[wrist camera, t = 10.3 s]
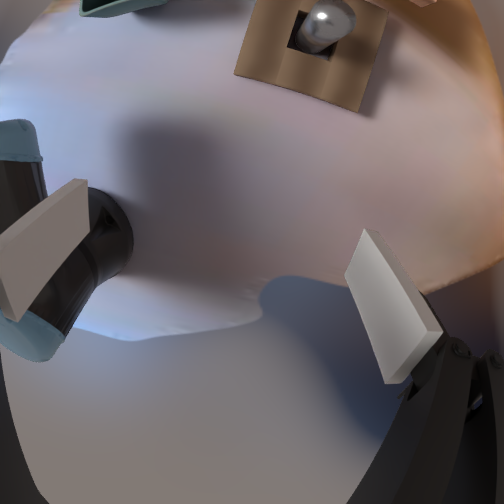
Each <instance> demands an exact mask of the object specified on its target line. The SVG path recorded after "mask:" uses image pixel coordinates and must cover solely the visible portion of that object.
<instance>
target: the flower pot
mask: <svg viewBox="0 0 504 504" xmlns="http://www.w3.org/2000/svg"><path fill="white" fill-rule="evenodd" d="M167 2H168V0H80V8H79V14H80V16H81V17H99V18H108V17H114V16H119V15H122V14H126V13H129V12H132V11H136V10H140V9H144V8H148V7H153V6H157V5H163V4H166V3H167Z"/></svg>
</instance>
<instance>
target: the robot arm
mask: <svg viewBox="0 0 504 504" xmlns="http://www.w3.org/2000/svg"><path fill="white" fill-rule="evenodd" d="M41 161H43V157H42V156H41V155H40V151H39V146H38V140H37V134H36V130H35V127H34V125H33V124H32V123H31V122H30V121H28V120H26V119H14V120H7V121H1V122H0V343H1V344H2V345H3V346H5V347H6V348H7V349H9V350H10V351H12V352H13V353H15V354H17V355H18V356H20V357H22V358H25V359H27V360H30V361H33V362H45V361H48V360H50V359H51V358H52V357H53V355H54V354H55V352H56V350H57V349H58V348H59V346H60V344H62V343H63V342H64V341H65V338H66V336H67V335H68V333H69V331H70V329H71V328H72V326H73V324H74V322H75V321H76V319H77V317H78V316H79V314H80V312H81V311H82V309H83V307H84V306H85V304H86V302H87V301H88V299H89V298H90V296H91V294H92V293H93V291H94V290H95V288H96V287H97V286H99V285H100V284H102V283H103V282H105V281H106V280H108V279H110V278H112V277H114V276H115V275H117V274H118V273H119V272H120V271H121V270H122V269H123V267H124V266H125V265H126V263H127V262H128V260H129V258H130V256H131V253H132V249H133V234H132V230H131V226H130V224H129V221H128V219H127V217H126V215H125V214H124V212H123V211H122V209H121V208H120V207H119V205H118V204H117V203H116V202H115V201H114V200H113V199H111V198H110V197H109V196H108V195H106V194H104V193H103V192H101V191H99V190H96V189H93V188H88V182H87V180H85V179H75V178H74V179H73V180H71V181H70V182H68V183H67V184H66V185H64V186H63V187H61V188H60V189H58V190H57V191H55V192H54V193H53V194H51V195H50V196H48V194H47V190H46V185H45V180H44V174H43V169H42V162H41ZM344 276H345V279H346V281H347V283H348V286H349V288H350V291H351V293H352V295H353V298H354V300H355V303H356V305H357V308H358V310H359V313H360V316H361V318H362V321H363V323H364V326H365V329H366V331H367V334H368V337H369V339H370V342H371V344H372V347H373V350H374V353H375V356H376V359H377V361H378V364H379V367H380V370H381V373H382V376H383V379H384V382H385V384H395V383H402V382H403V381H404V379H405V378H406V377H407V376H408V375H409V374H410V373H411V376H412V378H413V381H412V382H411V383H410V384H409V385H408V386H407V387H406V388H405V390H403V391H402V393H401V394H399V396H398V397H397V398H398V399H400V398H401V397H402V396H403V395H404V398H403V400H402V402H401V404H400V407H399V409H398V411H397V413H396V416H395V418H394V420H393V422H392V424H391V427H390V429H389V431H388V433H387V435H386V437H385V439H384V441H383V443H382V445H381V447H380V449H379V451H378V452H377V454H376V456H375V458H374V460H373V461H372V463H371V465H370V467H369V469H368V470H367V472H366V474H365V475H364V477H363V479H362V480H361V482H360V484H359V485H358V487H357V488H356V490H355V491H354V493H353V494H352V496H351V497H350V499H349V500H348V502H347V504H504V360H503V358H502V356H501V355H499V353H498V352H496V351H494V350H491V349H489V350H487V351H486V352H485V353H484V354H483V355H482V357H481V358H479V357H476V356H473V355H472V352H471V350H470V348H469V347H468V346H467V344H465V343H464V342H463V341H462V340H460V339H458V338H455V337H451V338H450V336H449V335H448V333H447V331H446V330H445V328H444V326H443V324H442V323H441V321H440V320H439V318H438V316H437V315H435V314H436V313H435V311H434V309H433V308H431V305H430V303H429V302H428V300H427V298H426V297H425V296H424V295H423V294H422V293H421V292H420V291H419V290H418V289H417V288H416V286H415V284H414V283H413V281H412V280H411V278H410V277H409V275H408V274H407V272H406V271H405V270H404V268H403V267H402V265H401V264H400V262H399V261H398V259H397V258H396V257H395V255H394V254H393V252H392V251H391V249H390V248H389V247H388V245H387V244H386V243H385V241H384V240H383V238H382V237H381V236H380V234H379V233H378V232H377V231H373V230H368V229H364V230H363V232H362V235H361V237H360V240H359V242H358V245H357V247H356V249H355V252H354V254H353V256H352V259H351V261H350V263H349V266H348V268H347V270H346V272H345V275H344ZM481 397H482V400H483V403H482V404H481V405H480V406H479V407H478V408H477V409H474V404H475V403H476V402H477V401H478V400H479V399H480V398H481ZM0 504H49V503H48V502H47V501H46V500H45V498H44V497H43V496H42V495H41V494H40V492H39V491H38V489H37V487H36V485H35V483H34V481H33V478H32V476H31V474H30V471H29V468H28V466H27V463H26V461H25V458H24V455H23V452H22V449H21V446H20V443H19V440H18V436H17V433H16V429H15V426H14V423H13V419H12V415H11V410H10V406H9V402H8V397H7V393H6V387H5V381H4V376H3V370H2V363H1V354H0Z"/></svg>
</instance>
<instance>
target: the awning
mask: <svg viewBox="0 0 504 504" xmlns="http://www.w3.org/2000/svg"><path fill="white" fill-rule="evenodd" d="M409 1H411V2H413V3H414V4H416V5H418V6H420V7H421V8H422V7H424V6H427V5H430V4H433V3H435V2H436V1H437V0H409Z"/></svg>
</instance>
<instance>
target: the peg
mask: <svg viewBox="0 0 504 504" xmlns="http://www.w3.org/2000/svg"><path fill="white" fill-rule="evenodd" d="M355 26H356V15H355V13H354V11H353V9H352V8H351V7H350V6H349V5H348V4H347V3H345V2H344V1H342V0H319V1H317V2H316V3H315V4H314V6H313V7H312V9H311V11H310V12H309V14H308V15H307V17H306V19H305V20H304V22H303V24H302V25H301V27H300V29H299V30H298V32H297V34H296V37H295V41H296V44H297V46H298V47H299V48H300V49H301V50H302V51H304V52H306V53H312V54H313V53H318V52H320V51H322V50H323V49H325V48H326V47H328V46H329V45H331V44H333V43H334V42H336V41H337V40H339V39H341V38H342V37H344V36H346V35H347V34H349V33H350V32H352V31H353V30H354V28H355Z"/></svg>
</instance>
